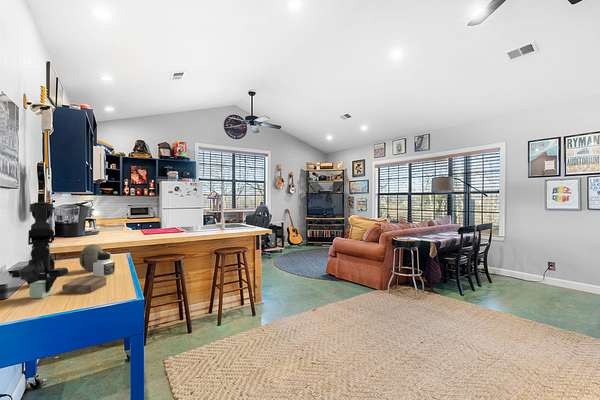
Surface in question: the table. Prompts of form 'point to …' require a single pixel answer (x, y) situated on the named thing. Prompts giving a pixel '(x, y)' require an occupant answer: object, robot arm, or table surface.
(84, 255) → the decorative egg
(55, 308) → the table surface
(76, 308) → the table surface
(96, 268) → the medicine bottle
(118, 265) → the table surface
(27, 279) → the robot arm
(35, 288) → the sage pill box
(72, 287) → the walnut block
